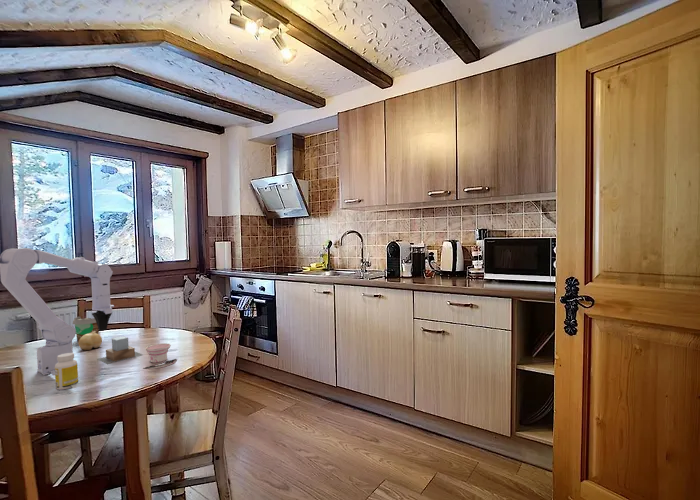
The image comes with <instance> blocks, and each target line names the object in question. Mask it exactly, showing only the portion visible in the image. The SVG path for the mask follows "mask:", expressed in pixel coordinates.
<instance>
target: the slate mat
mask: <svg viewBox="0 0 700 500" xmlns="http://www.w3.org/2000/svg"><path fill="white" fill-rule="evenodd" d="M141 356H144V354H142V353H140V352H138V351H135V356H133V357H129V358H125V359H121V360H117V361H112V360H110V359H108V358H106V356H104V357H100V358H97V359H96V360H97V361H99V362H102V363H104V364H107V365H110V364H115V363H119V362H121V361H125V360H129V359H133V358H137V357H141Z"/></svg>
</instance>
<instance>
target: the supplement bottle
mask: <svg viewBox="0 0 700 500" xmlns="http://www.w3.org/2000/svg"><path fill="white" fill-rule="evenodd" d="M57 360H58V361H59V362H58V363H57V364H56V365H55V370H54V378H55V389H56V390H59V391H60V390H61V391H62V390H69V389H71V388H73V386H72V385H76V384H77V383H78V382H79V369H78V361H77V360H76V359H75V353H74V352H73V353H65V354H61V355H58V356H57Z"/></svg>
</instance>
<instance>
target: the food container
mask: <svg viewBox="0 0 700 500" xmlns="http://www.w3.org/2000/svg"><path fill="white" fill-rule="evenodd" d="M72 324H73V325H74V328H75V330H76V334H75V337H76V341H77V342H79V339H80V338H81V337H82V336H83V335H85V334H89V333H91V332H92V331H93V332H94V331H95V332H96V333H97V334H99V329H98V326H97V323H96V320H95V318H94V317H93V318H91V317H88V318H86V317H85V318H81V316H76V317H75V318H73V320H72Z"/></svg>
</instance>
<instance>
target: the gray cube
mask: <svg viewBox="0 0 700 500" xmlns="http://www.w3.org/2000/svg"><path fill="white" fill-rule="evenodd" d="M129 346H130V345H129V337H127V336H124V335H123V336H117V337H113V338H111V349H113V350H115V351H120V350H124V349H128V348H129Z"/></svg>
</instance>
